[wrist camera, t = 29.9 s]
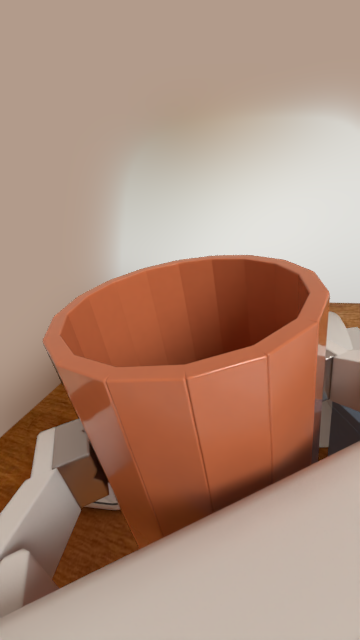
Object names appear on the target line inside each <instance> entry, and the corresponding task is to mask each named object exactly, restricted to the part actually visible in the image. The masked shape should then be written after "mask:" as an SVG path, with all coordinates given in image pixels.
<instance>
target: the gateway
mask: <svg viewBox="0 0 360 640" xmlns="http://www.w3.org/2000/svg"><path fill="white" fill-rule="evenodd" d="M327 339H329V340H331V341H332V342H334V343H336V344H338V345H340V346H342V347H343V348H345V349H347V350H352V349H354V347H353V343H352V340H351V337H350V334H349V332H348V329H347V328H346V327H345V325H344V323H343V322H342V320H341V318H340V317H339V316H338V315H337V314H336V313H334V312H329V313H328V327H327ZM326 401H327V404H328V405H329V407H330V408H332V401H330V399H329V400H326Z"/></svg>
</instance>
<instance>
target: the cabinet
mask: <svg viewBox="0 0 360 640" xmlns="http://www.w3.org/2000/svg"><path fill="white" fill-rule="evenodd" d="M358 441H360V412H359V411H356V410H354V409H351V408H349V407H346V406H343V405H341V404H338V403H336V402H333V401H332V413H331V424H330V435H329V447H328V456H330V455H332V454H334V453H336V452H338V451H340V450H342V449H344V448H346V447H348V446H350V445H352V444H354V443H356V442H358Z"/></svg>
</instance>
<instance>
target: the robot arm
mask: <svg viewBox="0 0 360 640" xmlns="http://www.w3.org/2000/svg"><path fill="white" fill-rule="evenodd" d="M329 399H330V401H333V402H336V403H338V404H341V405H343V406H346V407H349V408H351V409H354V410H356V411H359V412H360V350H354V349H352V350H347V349H345V348H343V347H342V346H340V345H338V344H336V343H334V342H332V341H331V340H329V339H327V341H326V355H325V369H324V383H323V397H322V402H324V401H326V400H329ZM108 495H109V487H108V481H107V479H106V477H105V475H104V473H103V470H102V468H101V466H100V464H99V462H98V460H97V458H96V455H95V453H94V451H93V449H92V447H91V445H90V443H89V440H88V439H87V437H86V434H85V432H84V430H83V428H82V426H81V424H80V421H79V419H76V420H73V421H70V422H67V423H65V424H62V425H59V426H57V427H54V428H51V429H48V430H45V431H42V432H40V433H39V435H38V436H37V442H36V448H35V454H34V460H33V466H32V472H31V478H30V479H28V480H25V481H24V483H23V484H22V485H21V487H20V488H19V489H18V491H17V492H16V493H15V495H14V496H13V497H12V499H11V500H10V501H9V503H8V504H7V505H6V507H5V508H4V509H3V511H2V512H1V513H0V640H360V441H358V442H356V443H354V444H352V445H350V446H348V447H346V448H344V449H342V450H340V451H338V452H336V453H334V454H332V455H330V456H328V457H326V458H324V459H322V460H320V461H318V462H316V463H314V464H312V465H310V466H308V467H306V468H304V469H302V470H300V471H298V472H296V473H294V474H292V475H290V476H288V477H285V478H283V479H281V480H279V481H277V482H275V483H273V484H271V485H269V486H267V487H265V488H263V489H261V490H259V491H257V492H255V493H253V494H251V495H249V496H247V497H245V498H243V499H241V500H239V501H237V502H235V503H233V504H231V505H229V506H227V507H225V508H223V509H220V510H218V511H216V512H214V513H212V514H210V515H208V516H206V517H204V518H202V519H200V520H198V521H196V522H194V523H192V524H190V525H188V526H186V527H184V528H182V529H180V530H178V531H176V532H174V533H172V534H170V535H167V536H165V537H163V538H161V539H159V540H157V541H155V542H153V543H151V544H149V545H147V546H145V547H143V548H141V549H139V550H137V551H135V552H133V553H131V554H129V555H127V556H125V557H123V558H121V559H119V560H117V561H115V562H113V563H111V564H109V565H107V566H104V567H102V568H100V569H98V570H96V571H94V572H92V573H90V574H88V575H86V576H84V577H82V578H80V579H78V580H76V581H74V582H72V583H70V584H68V585H66V586H64V587H62V588H60V589H59V588H58V586H57V585H56V584H55V583H54V581H53V580H52V578H53V576H54V573H55V571H56V568H57V566H58V564H59V561H60V559H61V557H62V554H63V552H64V550H65V547H66V545H67V542H68V540H69V538H70V535H71V533H72V531H73V528H74V526H75V524H76V521H77V519H78V517H79V514H80V512H81V509H80V508H82V507H85V506H87V505H89V504H91V503H93V502H95V501H97V500H99V499H102V498H104V497H106V496H108Z"/></svg>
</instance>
